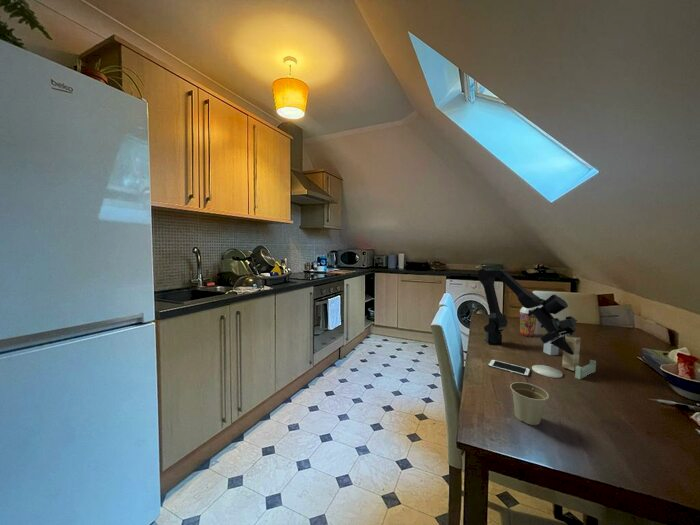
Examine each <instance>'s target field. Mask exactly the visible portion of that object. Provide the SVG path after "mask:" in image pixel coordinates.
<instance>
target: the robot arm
mask: <svg viewBox="0 0 700 525" xmlns="http://www.w3.org/2000/svg"><path fill="white" fill-rule="evenodd" d="M476 275H477V278H478V281H479V282H480V284H481V285H482V286H483V288H484V293H485V297H486V301H487V306H488V311H489V315H488V317H487V318H488V320H487V321H488V323H487V324H486V325H485V326H483V331H484V332H486V333H485V335H486V336H485V339H484V341H485V342H486V343H487V344H488V345H494V346H495V345H496V346H503V334H502V332H504V330H505V329H506V328H507V327H508V323H509V322H508V320H507V315H506V314H503V313H502V312H501V309H500V306H499V301H498V296H497V293H496V288H495V285H494V284H495V281H496V278H498V279H499V280H500V281H501V282H502V283H503V284H504V285H505V286H506V287H508V289H509V290H510V291H512V292H513V294H515V295H516V297H517V298H516V299H517V300H518V301H519V303H520V304H521V305H522V306H521V307H525V308H535V309H534V310H529V313H528V316H533V315H534V316H535V317H536V321H538V322H539V323H540V328H544V330H545V331H546V333H545V334H543V335H542V336H541V337H540V340H541V342H542V343H543V345H544V344H545V343H548V342H550V344H553V345H555V346H556V347H558V348H559V349H560V350H562V351H563V350H564V351H565V352H567V353H569V354H571V355H573V354H574V353H573V351H572V350H571V348H570V347H569V345H568V344H567V343H566V341H565V336H567V335H571V336H574V335H575V332H577V331H579V330H578V329H577V328H576V327H577V326H578V324H577V322H578V320H577V319H576V318H575V317H573V316H572V315H569V316H565V319H561V320H560V319H559V318H558V317H554V316H553V315H557V314H559V313H560V312H562V311H564V310H565V309H567V308H568V307H569V305H568V303H567V302H566V300H565V299H563V298H561V297H559V296H558V295H557V294H552V295H550V296H549V297H548V298H547V299H544V298H541V297H539V296H538V295H536V294H535V293H534V292H532V291H530V290H528V289H527V288H524V287H523V285H521V284H520V283H519V282H518V281H517V280H516V279H515V278H514V277H512V275H510V273H508V271H507V270H505V269H497V270H493V269H492V268H481V269H479V270H478V271H477V273H476ZM540 306H541V307H540ZM552 314H553V315H552Z"/></svg>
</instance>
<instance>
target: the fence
mask: <svg viewBox="0 0 700 525" xmlns="http://www.w3.org/2000/svg"><path fill="white" fill-rule="evenodd" d="M596 367H597V361H596V360H593V359H589V363H588V364H586V365H583V366H580V365H579V366H576V370H574V378H575V379H578V380H582V379H583V378H585V377H588V376H589V374H590V375H591V373H592V374H594V373H596ZM587 375H588V376H587Z"/></svg>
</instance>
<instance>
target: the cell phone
mask: <svg viewBox="0 0 700 525" xmlns="http://www.w3.org/2000/svg"><path fill="white" fill-rule="evenodd" d="M487 367H488V368H492V369H496V370H499V371H502V372H507V373H511V374H514V375H518V376H522V377H525V378H526V377H527V378H529V377H530V375H531V370H532V369H531V368H529V367H525V366H521V365H516V364H513V363H509V362H506V361H502V360H501V361H500V360H498V359H492V358H491V359H490V360H489V362H488V363H487Z"/></svg>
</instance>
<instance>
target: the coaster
mask: <svg viewBox="0 0 700 525" xmlns="http://www.w3.org/2000/svg"><path fill="white" fill-rule="evenodd" d="M531 370H532V371H533V372H534V373H535V374H538V375H541V376H543V377H546V378H551V379H552V378H553V379H560V378H562V377H563V375H564V374H563V371H561V370H559V369H557V368H555V367H552V366H548V365H543V364H535V365H532V366H531Z"/></svg>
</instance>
